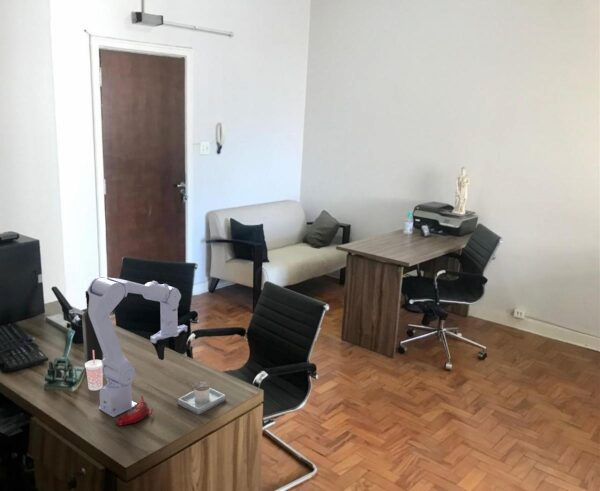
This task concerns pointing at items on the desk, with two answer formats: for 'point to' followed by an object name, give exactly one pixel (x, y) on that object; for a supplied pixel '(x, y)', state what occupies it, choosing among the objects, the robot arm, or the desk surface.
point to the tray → (191, 405)
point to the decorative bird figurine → (135, 413)
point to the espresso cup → (202, 392)
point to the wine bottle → (90, 337)
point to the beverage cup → (94, 374)
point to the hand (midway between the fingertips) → (169, 355)
